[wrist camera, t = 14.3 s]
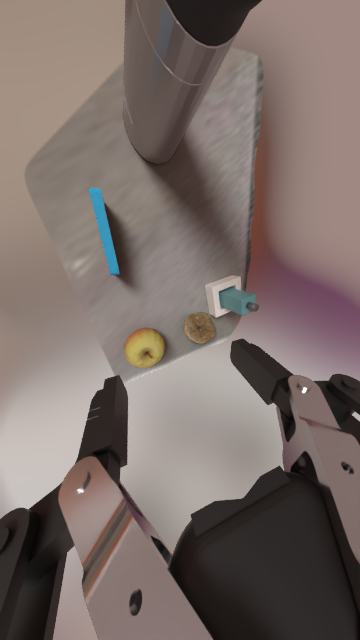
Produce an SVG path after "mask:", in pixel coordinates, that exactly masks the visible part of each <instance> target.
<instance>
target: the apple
mask: <svg viewBox="0 0 360 640" xmlns="http://www.w3.org/2000/svg"><path fill="white" fill-rule="evenodd" d="M124 350H125V356H126V359H127V360H128V362H129V363H130V364H131V365H133V366H135V367H137V368H148V367H151V366H153V365H155V364H156V363H157V362H158V361H160V360H161V358H162V356H163V354H164V350H165V343H164V340H163V337H162V336H161V335H160V334H159V333H158V332H157V331H155V330H153V329H149V328H143V329H139V330H137V331H135V332H134V333H132V334H131V335H130V336H129V337H128V339H127V340H126V343H125V347H124Z"/></svg>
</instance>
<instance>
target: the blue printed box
mask: <svg viewBox="0 0 360 640" xmlns="http://www.w3.org/2000/svg"><path fill="white" fill-rule="evenodd" d="M89 192H90V196H91V200H92V204H93V207H94V211H95V215H96V219H97V223H98V227H99V231H100V235H101V239H102V243H103V247H104V251H105V254H106V258H107V262H108V266H109V270H110V274H111V275H119V274H120V271H119V267H118V262H117V258H116V253H115V249H114V245H113V240H112V236H111V232H110V227H109V223H108V218H107V214H106V210H105V205H104V201H103V197H102V193H101V190H100V189H98V188H89Z"/></svg>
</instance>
